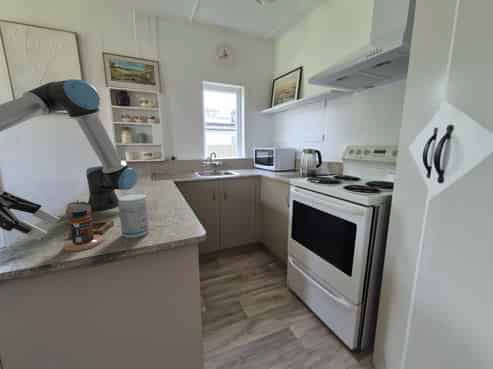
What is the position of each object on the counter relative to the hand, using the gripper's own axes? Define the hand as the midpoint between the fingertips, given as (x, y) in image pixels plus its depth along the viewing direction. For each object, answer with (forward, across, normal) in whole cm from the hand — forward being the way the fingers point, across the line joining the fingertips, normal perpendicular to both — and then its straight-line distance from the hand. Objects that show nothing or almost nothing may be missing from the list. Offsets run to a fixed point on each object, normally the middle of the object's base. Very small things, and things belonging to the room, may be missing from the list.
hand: (50, 228), depth 67 cm
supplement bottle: (+10, 0, +1) cm, 10 cm away
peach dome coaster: (+11, 0, 0) cm, 11 cm away
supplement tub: (+22, 0, +12) cm, 25 cm away
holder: (+12, -12, +1) cm, 17 cm away
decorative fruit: (+7, -30, -4) cm, 32 cm away
